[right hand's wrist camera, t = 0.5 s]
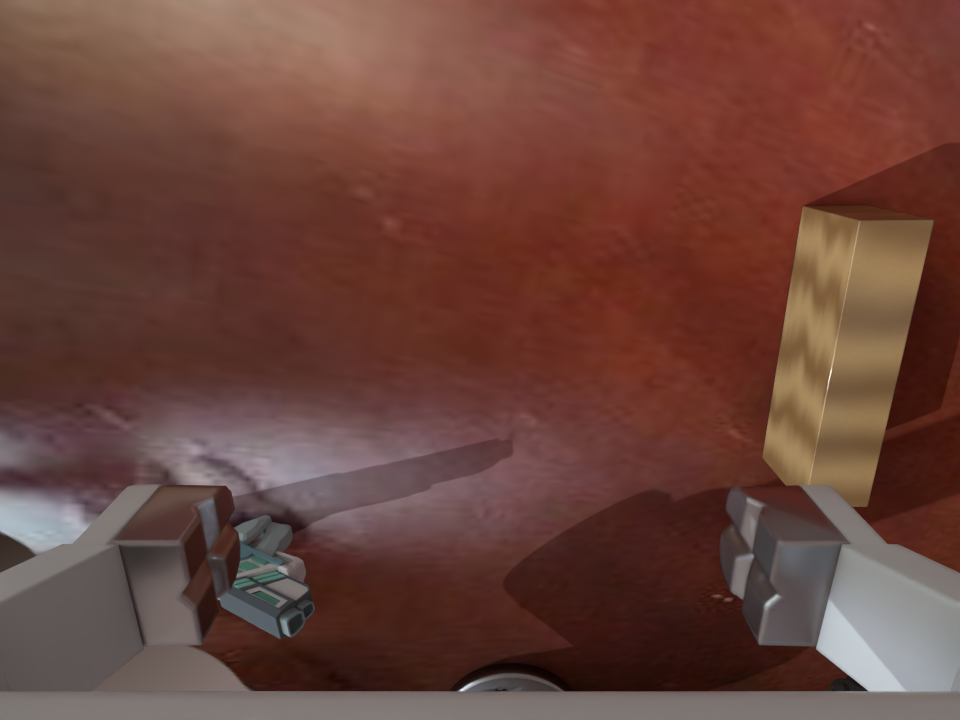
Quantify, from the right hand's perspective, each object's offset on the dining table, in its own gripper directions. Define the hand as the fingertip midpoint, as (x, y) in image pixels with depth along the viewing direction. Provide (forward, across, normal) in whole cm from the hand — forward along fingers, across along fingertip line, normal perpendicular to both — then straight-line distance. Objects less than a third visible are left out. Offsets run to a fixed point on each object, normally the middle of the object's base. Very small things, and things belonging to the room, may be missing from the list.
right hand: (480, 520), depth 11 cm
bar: (+43, -29, +12) cm, 53 cm away
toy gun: (+43, +22, +31) cm, 58 cm away
